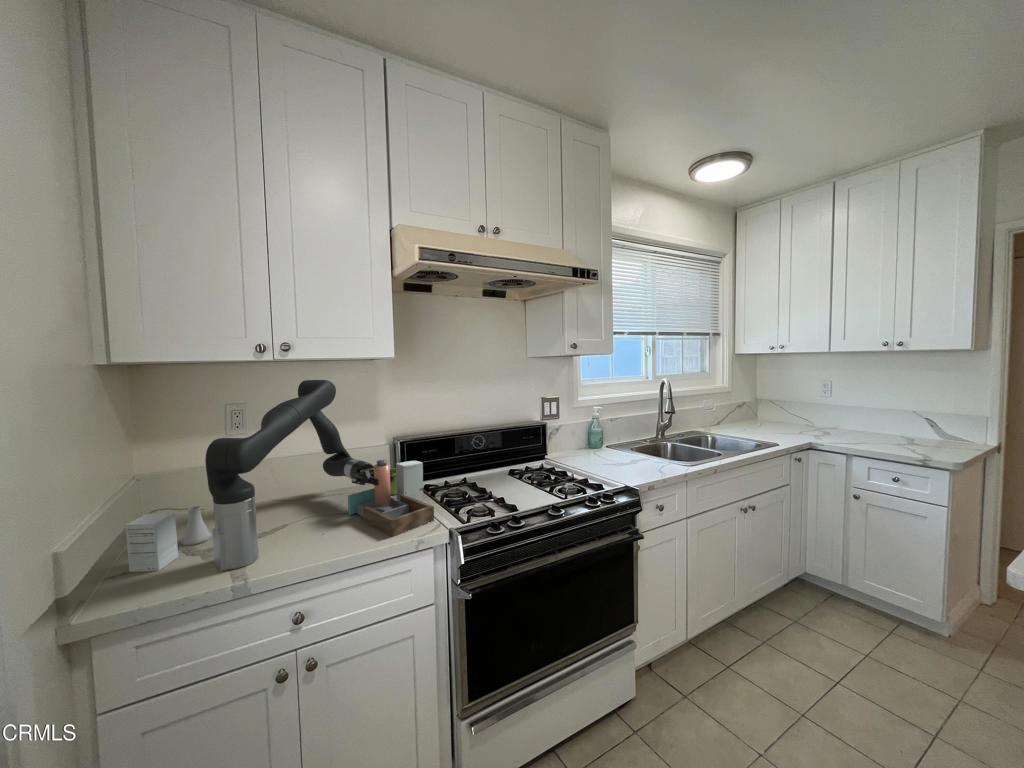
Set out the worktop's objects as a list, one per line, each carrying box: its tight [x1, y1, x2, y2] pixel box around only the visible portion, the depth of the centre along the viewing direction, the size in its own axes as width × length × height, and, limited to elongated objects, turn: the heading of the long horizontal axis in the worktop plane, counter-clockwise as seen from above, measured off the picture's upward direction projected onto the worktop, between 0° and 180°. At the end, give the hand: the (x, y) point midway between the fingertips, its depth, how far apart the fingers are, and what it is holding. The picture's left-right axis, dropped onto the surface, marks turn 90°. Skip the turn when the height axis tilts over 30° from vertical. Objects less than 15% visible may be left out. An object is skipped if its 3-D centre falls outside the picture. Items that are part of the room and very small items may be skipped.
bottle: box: [373, 459, 392, 507], centre depth 143 cm, size 5×5×15 cm
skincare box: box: [395, 460, 424, 502], centre depth 155 cm, size 8×6×15 cm
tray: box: [347, 485, 409, 518], centre depth 144 cm, size 16×15×6 cm
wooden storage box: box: [362, 495, 435, 537], centre depth 137 cm, size 15×17×5 cm
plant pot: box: [390, 467, 397, 496], centre depth 165 cm, size 9×9×9 cm
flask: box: [179, 505, 213, 546], centre depth 124 cm, size 7×7×10 cm
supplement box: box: [124, 512, 179, 573], centre depth 110 cm, size 7×7×13 cm
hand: (384, 480), depth 142 cm, fingers closed on bottle, 5 cm apart
